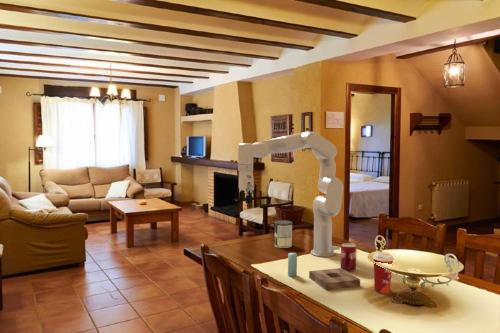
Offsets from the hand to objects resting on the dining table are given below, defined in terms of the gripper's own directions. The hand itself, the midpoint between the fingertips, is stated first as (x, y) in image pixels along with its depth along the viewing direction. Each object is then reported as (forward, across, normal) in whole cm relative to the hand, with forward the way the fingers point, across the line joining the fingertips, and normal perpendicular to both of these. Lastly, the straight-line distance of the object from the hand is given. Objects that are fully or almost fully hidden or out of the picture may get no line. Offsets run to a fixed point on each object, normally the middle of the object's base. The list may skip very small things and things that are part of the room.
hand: (245, 201), depth 205 cm
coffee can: (+31, +22, -32) cm, 49 cm away
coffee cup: (+31, -57, -39) cm, 76 cm away
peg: (+31, -27, -13) cm, 43 cm away
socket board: (+31, -41, -26) cm, 57 cm away
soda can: (+31, -29, -42) cm, 59 cm away
